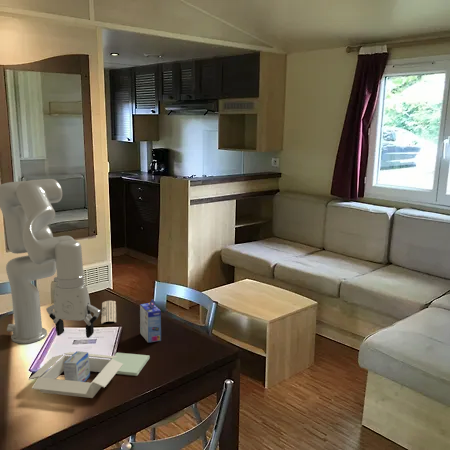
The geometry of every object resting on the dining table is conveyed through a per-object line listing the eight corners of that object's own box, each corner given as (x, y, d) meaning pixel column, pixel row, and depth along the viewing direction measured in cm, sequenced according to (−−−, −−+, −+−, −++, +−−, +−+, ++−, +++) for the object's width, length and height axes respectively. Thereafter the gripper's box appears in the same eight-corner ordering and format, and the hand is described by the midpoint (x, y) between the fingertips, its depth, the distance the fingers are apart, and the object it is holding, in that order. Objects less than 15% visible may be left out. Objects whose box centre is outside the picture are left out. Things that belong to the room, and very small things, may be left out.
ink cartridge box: (162, 340, 178) (161, 304, 175) (148, 343, 176) (146, 307, 173) (153, 330, 187) (152, 296, 184) (140, 333, 185) (138, 298, 182)
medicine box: (78, 389, 146) (76, 363, 144) (65, 388, 147) (63, 362, 145) (90, 376, 153) (88, 351, 152) (77, 375, 154) (76, 350, 152)
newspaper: (116, 324, 194) (116, 320, 194) (98, 326, 193) (98, 322, 193) (115, 303, 217) (115, 300, 217) (99, 305, 215) (99, 301, 215)
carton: (20, 398, 141) (19, 382, 140) (60, 361, 163) (59, 347, 162) (99, 407, 137) (98, 390, 136) (128, 367, 159) (128, 353, 158)
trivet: (102, 372, 156) (102, 369, 156) (117, 355, 167) (116, 352, 167) (137, 375, 154) (137, 372, 154) (149, 358, 165) (149, 355, 165)
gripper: (37, 284, 141) (42, 338, 144) (92, 287, 138) (95, 342, 141) (51, 276, 148) (55, 328, 151) (103, 279, 145) (106, 331, 148)
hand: (75, 334), depth 146 cm, fingers open, 9 cm apart
